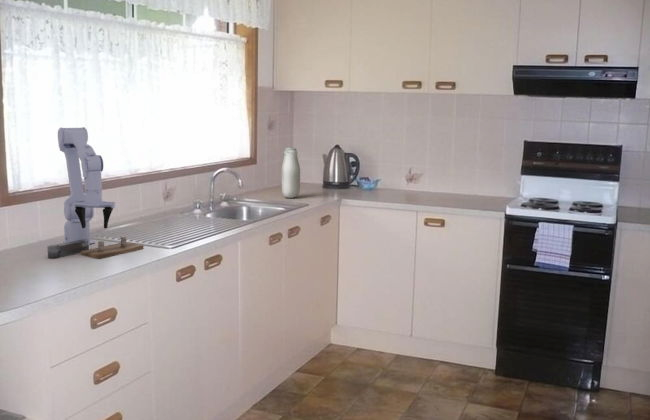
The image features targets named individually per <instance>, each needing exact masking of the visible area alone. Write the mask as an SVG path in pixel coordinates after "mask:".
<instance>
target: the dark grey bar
mask: <svg viewBox="0 0 650 420" xmlns="http://www.w3.org/2000/svg"><path fill="white" fill-rule="evenodd" d="M89 245H90V244H89V240H87V239H81V240H77V241H72V242H67V243H63V242H62V243H58V244H52V245H47V247H46V248H47V259H50V260H51V259H52V260H53V259H60V258H62V257H69V256H72V255H77V254H81V251H85V250H90V246H89Z"/></svg>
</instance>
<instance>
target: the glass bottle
mask: <svg viewBox="0 0 650 420" xmlns="http://www.w3.org/2000/svg"><path fill="white" fill-rule="evenodd" d="M298 158H299V157H298V150H297V148H296V147H289V146H288V147H286V148H284V151H283V160H282V165H281V172H280V173H281V193H282V195H283V196H284V198H288V199H295V198H296V197H298V196H299V194H300V191H301V168H300V163H299V159H298Z"/></svg>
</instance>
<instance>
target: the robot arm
mask: <svg viewBox="0 0 650 420" xmlns="http://www.w3.org/2000/svg"><path fill="white" fill-rule="evenodd" d="M88 134H89V133H88V130H87V128H86V127H84V126H82V127H59V128H58V130H57V142H58V148H59V151H60V152H62V153H64V156H65V162H66V169H67V176H68V177H67V178H68V185H69V186H68V187H69V191H70V192H69V193H70V196H68V197H67V198H66V199H65V200H64V202H63V214H64V215H63V216H64V218H65V220H66V222H65V223H64V228H63V229H64V241H62V243H67V242H72V241H77V240H81V239H87V240H89V245H92V244H95V243H96V241H95V240H94V241H93V240H91V227H90V224H91V223H90V222H91V221H92V219H94V216H95V215H94V214H95V211H94V210H95V209H98V208H99V209H102V214H103V228H104V229H108V224H109V221H110V217H111V214H112V212H113V210H114V209H115V208H116V202H115V201H104V200H103V190H102V189H103V185H102V173H103V171H104V160H103V157H102V155H99V154H96V151H95V150H94V148H93V147H92V146H91V145H90V144H88V139H89V135H88ZM82 178H83V179H84V186H83V179H82Z"/></svg>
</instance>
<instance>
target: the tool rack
mask: <svg viewBox="0 0 650 420" xmlns="http://www.w3.org/2000/svg"><path fill="white" fill-rule="evenodd" d="M143 249H144V245H143V244H142V245H141V244H139V243H138V244H137V243H132V242H128V241H127V237H126V236H120V242H117V243H114V244H109V245H105V241H104V240H102V241H101V240H99V241H98V242H97V247H95V248H91V249H90V248H89V250H85V251H81V253H80V255H81V256H86V257H88V258H93V259H98V260H99V259H100V260H101V259H104V258H109V257H113V256H117V255H122V254H125V253H131V252H135V251H139V250H143Z"/></svg>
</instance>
